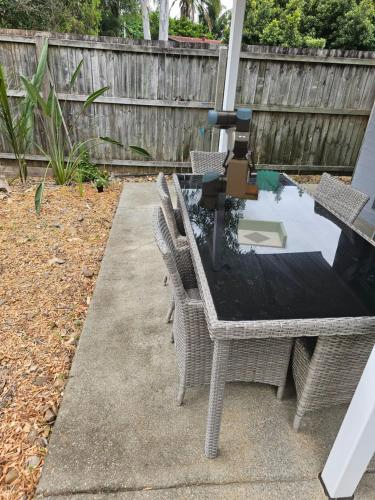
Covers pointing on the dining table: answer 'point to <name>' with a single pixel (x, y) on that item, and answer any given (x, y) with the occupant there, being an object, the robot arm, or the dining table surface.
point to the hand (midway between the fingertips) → (237, 180)
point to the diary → (250, 193)
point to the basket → (267, 180)
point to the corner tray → (261, 233)
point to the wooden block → (237, 177)
